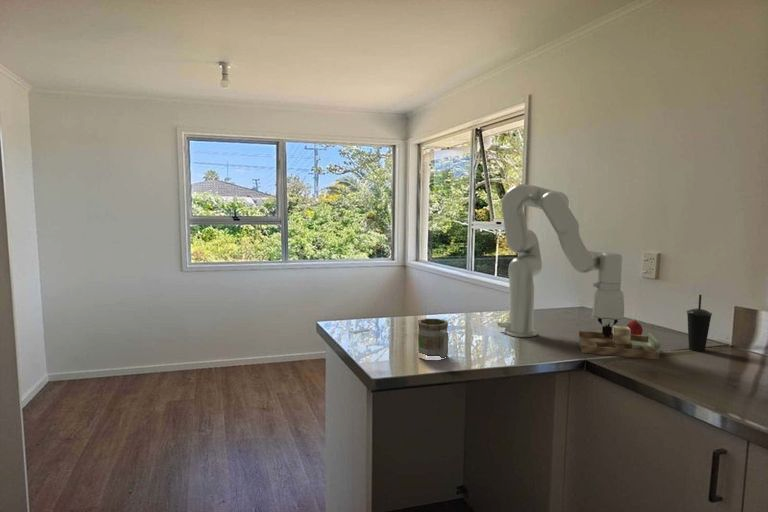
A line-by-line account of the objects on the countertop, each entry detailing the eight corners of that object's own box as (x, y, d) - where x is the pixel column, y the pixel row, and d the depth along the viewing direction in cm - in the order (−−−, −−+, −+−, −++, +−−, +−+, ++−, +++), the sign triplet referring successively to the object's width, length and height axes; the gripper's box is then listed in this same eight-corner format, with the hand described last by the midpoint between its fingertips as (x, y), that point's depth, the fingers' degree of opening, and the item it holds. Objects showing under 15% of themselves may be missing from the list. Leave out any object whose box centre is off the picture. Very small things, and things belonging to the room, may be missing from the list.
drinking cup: (705, 347, 171) (709, 293, 169) (712, 353, 164) (716, 297, 162) (681, 345, 173) (685, 292, 171) (687, 351, 166) (691, 295, 164)
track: (581, 352, 165) (582, 337, 164) (578, 342, 178) (579, 327, 178) (659, 359, 157) (659, 343, 157) (649, 347, 170) (650, 333, 170)
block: (614, 342, 168) (615, 329, 168) (612, 339, 173) (613, 325, 173) (630, 344, 167) (630, 330, 166) (627, 340, 171) (628, 326, 171)
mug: (411, 353, 165) (411, 319, 163) (439, 350, 168) (439, 317, 167) (431, 367, 150) (432, 330, 149) (461, 363, 154) (461, 327, 153)
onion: (644, 341, 179) (645, 321, 178) (627, 340, 180) (628, 320, 179) (639, 337, 184) (640, 317, 183) (623, 336, 185) (624, 317, 185)
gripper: (587, 287, 168) (585, 337, 170) (634, 289, 163) (631, 341, 165) (585, 284, 175) (583, 332, 177) (630, 286, 170) (627, 335, 172)
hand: (606, 336), depth 171 cm, fingers closed
